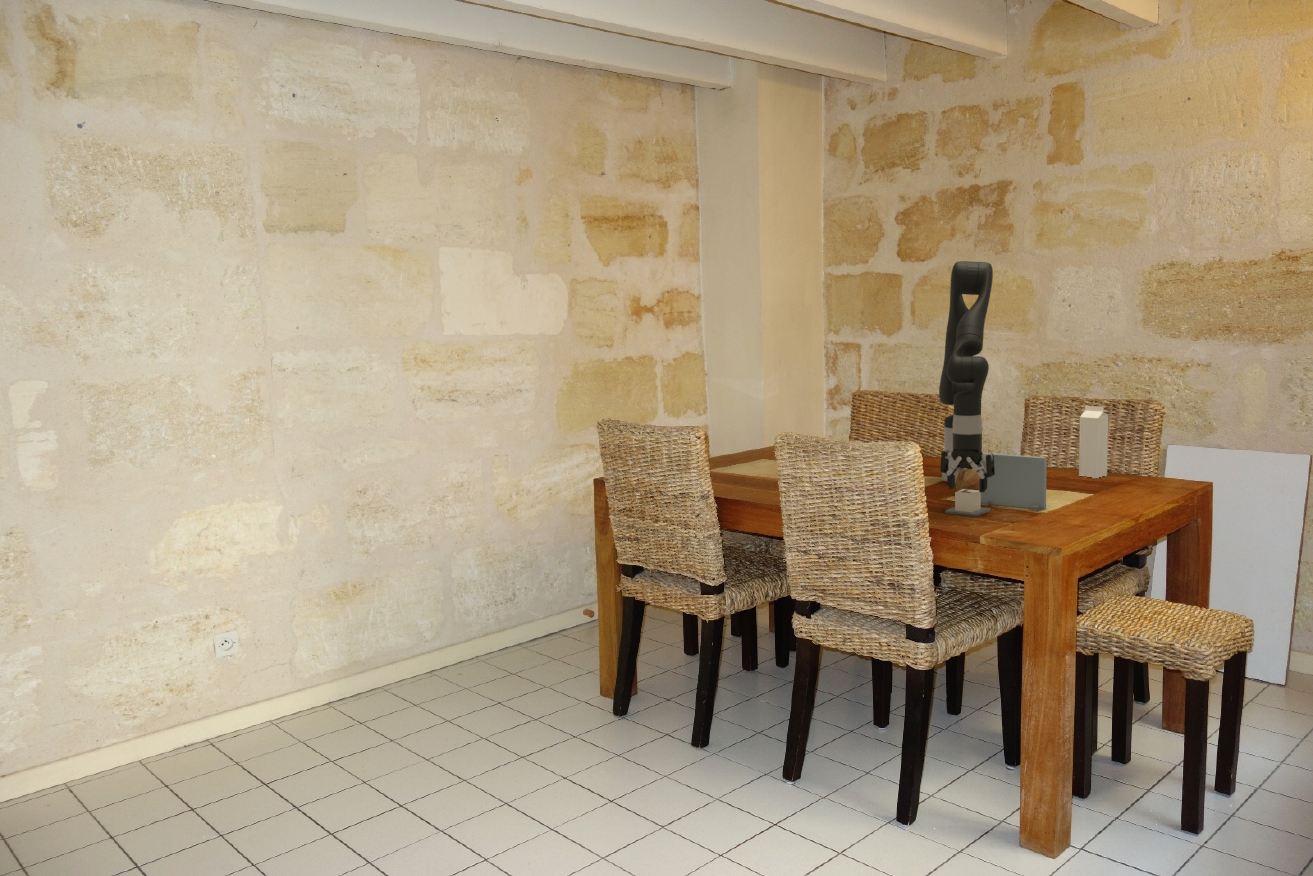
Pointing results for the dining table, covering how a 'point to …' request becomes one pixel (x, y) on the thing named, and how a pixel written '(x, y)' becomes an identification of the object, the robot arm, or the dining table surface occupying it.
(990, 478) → the screen
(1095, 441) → the milk
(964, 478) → the bread roll
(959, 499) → the letter cube
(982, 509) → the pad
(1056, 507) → the dining table surface
